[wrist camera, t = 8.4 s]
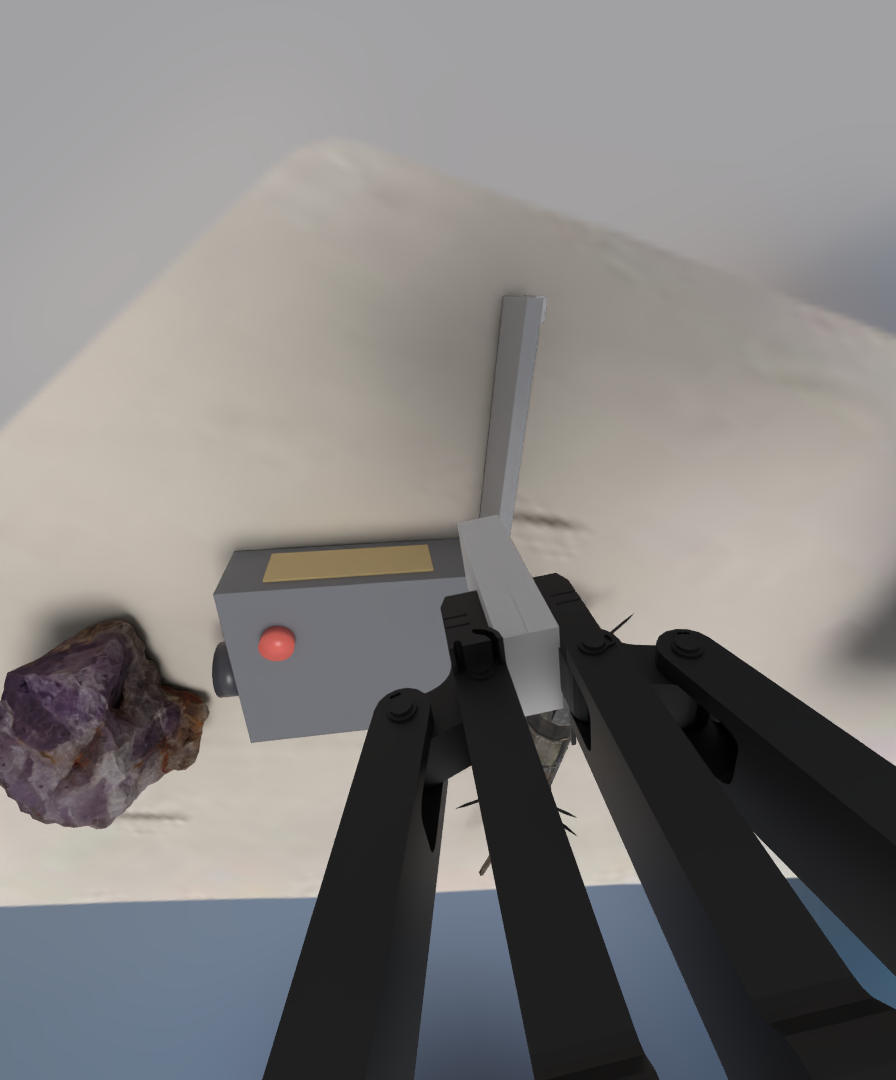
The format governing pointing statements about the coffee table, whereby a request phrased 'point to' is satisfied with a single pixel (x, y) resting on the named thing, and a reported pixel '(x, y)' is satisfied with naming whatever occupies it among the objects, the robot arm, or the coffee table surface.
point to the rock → (92, 728)
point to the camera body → (332, 631)
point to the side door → (510, 403)
